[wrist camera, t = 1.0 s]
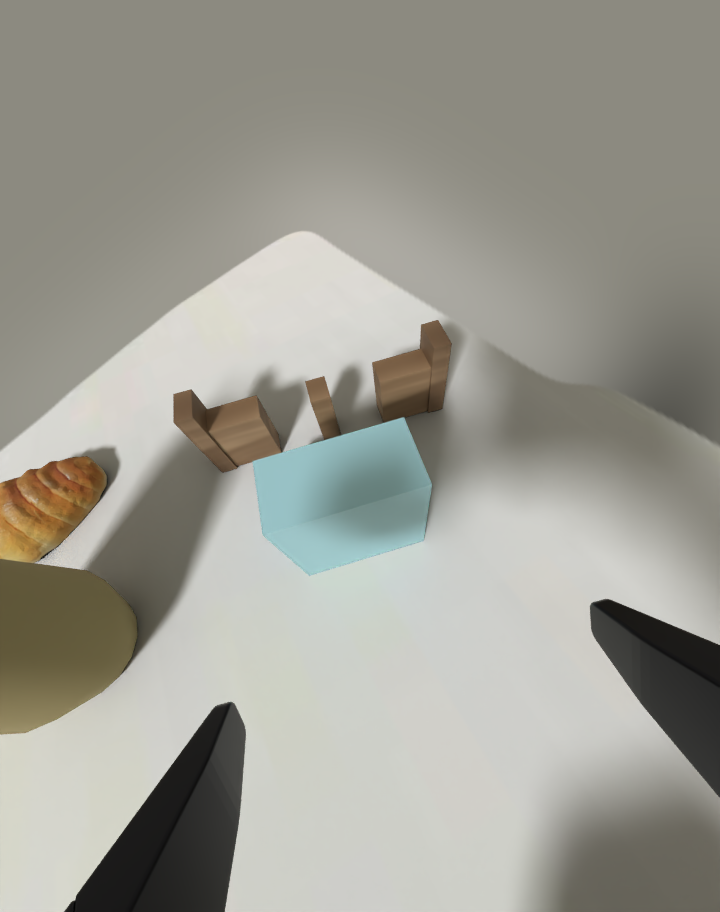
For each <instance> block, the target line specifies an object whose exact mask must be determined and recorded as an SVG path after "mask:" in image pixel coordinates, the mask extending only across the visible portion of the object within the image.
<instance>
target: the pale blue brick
mask: <svg viewBox="0 0 720 912" xmlns="http://www.w3.org/2000/svg"><path fill="white" fill-rule="evenodd" d="M253 467H254V475H255V482H256V489H257V497H258V504H259V512H260V519H261V526H262V534H263V536H264V537H265V538H266V539H268V540H269V541H270V542H271V543H272V544H273V545H275V546H276V547H277V548H278V549H279V550H280V551H281V552H283V553H284V554H285V555H286V556H287V557H288V558H289V559H291V560H292V561H293V562H294V563H295V564H296V565H298V566H299V567H300V568H301V569H302V570H303V571H304V572H306V573H307V574H308V575H313V574H316V573H319V572H323V571H326V570H329V569H332V568H336V567H339V566H342V565H346V564H349V563H352V562H355V561H359V560H362V559H365V558H368V557H372V556H375V555H378V554H382V553H385V552H388V551H391V550H395V549H398V548H401V547H405V546H408V545H411V544H414V543H418V542H421V541H424V535H425V528H426V522H427V515H428V508H429V502H430V495H431V489H432V483H431V481H430V478H429V476H428V474H427V471H426V469H425V466H424V464H423V462H422V459H421V457H420V454H419V452H418V450H417V447H416V445H415V442H414V440H413V438H412V435H411V433H410V431H409V428H408V426H407V423H406V421H405V419H404V417H403V418H399V419H396V420H392V421H389V422H385V423H382V424H379V425H375V426H372V427H368V428H365V429H361V430H358V431H354V432H351V433H348V434H344V435H341V436H337V437H334V438H330V439H327V440H323V441H320V442H317V443H313V444H310V445H306V446H303V447H299V448H296V449H293V450H289V451H286V452H282V453H279V454H275V455H272V456H268V457H265V458H262V459H258V460H255V461H253Z"/></svg>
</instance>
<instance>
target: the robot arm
mask: <svg viewBox="0 0 720 912" xmlns="http://www.w3.org/2000/svg"><path fill="white" fill-rule="evenodd" d="M590 617H591V630H592V633H593V635H594V637H595V639H596V641H597V642H598V643H599V645H600V646H601V648H602V649H603V651H604V652H605V653H606V655H607V656H608V658H609V659H610V661H611V662H612V663H613V665H614V666H615V668H616V669H617V670H618V672H619V673H620V675H621V676H622V678H623V679H624V680H625V682H626V683H627V685H628V686H629V688H630V689H631V690H632V692H633V693H634V694H635V696H636V697H637V699H638V700H639V701H640V703H641V704H642V705H643V706H644V708H645V709H646V710H647V711H648V713H649V714H650V715H651V716H652V717H653V719H654V720H655V721H656V722H657V723H658V725H659V726H660V727H661V728H662V729H663V731H664V732H665V733H666V734H667V735H668V737H669V738H670V739H671V740H672V741H673V742H674V744H675V745H676V746H677V747H678V748H679V750H680V751H681V752H682V753H683V754H684V756H685V757H686V758H687V759H688V760H689V762H690V763H691V764H692V765H693V766H694V768H695V769H696V770H697V771H698V772H699V774H700V775H701V776H702V777H703V778H704V779H705V781H706V782H707V783H708V784H709V785H710V787H711V788H712V789H713V790H714V791H715V793H716V794H717V795H718V796H719V797H720V645H718V644H716V643H713V642H711V641H709V640H706V639H704V638H701V637H699V636H697V635H694V634H692V633H689V632H687V631H685V630H682V629H680V628H677V627H675V626H672V625H670V624H668V623H665V622H663V621H660V620H658V619H656V618H653V617H651V616H648V615H646V614H644V613H641V612H639V611H636V610H634V609H632V608H629V607H627V606H624V605H622V604H620V603H617V602H615V601H612V600H609V599H603V600H600V601H596V602H593V603H591V605H590ZM245 740H246V731H245V725H244V723H243V721H242V719H241V716H240V714H239V712H238V710H237V708H236V706H235V704H234V703H233V702H227V703H224V704H220V705H217V706H215V707H214V708H213V709H212V711H211V712H210V713H209V715H208V716H207V718H206V719H205V720H204V722H203V723H202V724H201V726H200V727H199V728H198V730H197V731H196V733H195V734H194V735H193V737H192V738H191V739H190V741H189V742H188V744H187V745H186V746H185V748H184V749H183V750H182V752H181V753H180V754H179V756H178V757H177V759H176V760H175V761H174V763H173V764H172V765H171V767H170V768H169V769H168V771H167V772H166V774H165V775H164V776H163V778H162V779H161V780H160V782H159V783H158V784H157V786H156V787H155V789H154V790H153V791H152V793H151V794H150V795H149V797H148V798H147V800H146V801H145V802H144V804H143V805H142V806H141V808H140V809H139V810H138V812H137V813H136V815H135V816H134V817H133V819H132V820H131V821H130V823H129V824H128V825H127V827H126V828H125V830H124V831H123V832H122V834H121V835H120V836H119V838H118V839H117V841H116V842H115V843H114V845H113V846H112V847H111V849H110V850H109V851H108V853H107V854H106V856H105V857H104V858H103V860H102V861H101V862H100V864H99V865H98V866H97V868H96V869H95V871H94V872H93V873H92V875H91V876H90V877H89V879H88V880H87V881H86V883H85V884H84V886H83V887H82V888H81V890H80V891H79V892H78V894H77V896H76V899H75V900H74V901H72V902H71V903H70V904H69V906H68V907H67V909H66V910H65V911H64V912H225V906H226V900H227V894H228V888H229V881H230V875H231V869H232V862H233V856H234V850H235V844H236V837H237V831H238V824H239V817H240V807H241V794H242V781H243V767H244V753H245Z"/></svg>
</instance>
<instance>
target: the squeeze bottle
mask: <svg viewBox="0 0 720 912" xmlns="http://www.w3.org/2000/svg"><path fill="white" fill-rule="evenodd" d="M137 637H138V635H137V618H136V616H135V614H134V612H133V611H132V609H131V607H130V605H129V604H128V603H127V602H126V601H125V600H124V599H123V598H122V597H121V596H120V595H119V594H118V593H117V592H116V591H115V590H114V589H113V588H112V587H111V586H110V585H109V584H108V583H107V582H106V581H105V580H103V579H101V578H99V577H98V576H96V575H94V574H92V573H91V572H89V571H86V570H79V569H72V568H64V567H57V566H50V565H42V564H35V563H28V562H20V561H13V560H6V559H0V734H15V733H26V732H29V731H31V730H33V729H36V728H38V727H40V726H43V725H45V724H47V723H50V722H52V721H54V720H57V719H58V718H60V717H62V716H63V715H65V714H67V713H68V712H70V711H72V710H73V709H75V708H76V707H78V706H80V705H81V704H83V703H85V702H86V701H88V700H90V699H91V698H93V697H95V696H96V695H98V694H100V693H101V692H103V691H104V690H105V689H106V688H107V687H108V686H109V685H110V684H112V683H113V682H114V681H115V680H116V679H117V678H118V677H119V676H120V675H121V673H122V671H123V670H124V668H125V667H126V665H127V663H128V662H129V660H130V659H131V657H132V654H133V650H134V647H135V644H136V640H137Z"/></svg>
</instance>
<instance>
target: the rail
mask: <svg viewBox="0 0 720 912" xmlns="http://www.w3.org/2000/svg"><path fill="white" fill-rule="evenodd" d="M451 345H452V343H451V342H450V340H449V338H448V336H447V335H446V333H445V331H444V330H443V328H442V326H441V324H440V323H439V321H438V320H436V321H432V322H429V323H425V324H422V325H421V339H420V349H418V350H415V351H411V352H408V353H404V354H401V355H397V356H394V357H390V358H386V359H383V360H379V361H376V362H372V365H373V374H374V383H375V392H376V401H377V406H378V409H379V412H380V414H381V417H382V420H383V422H384V423H385V422H389V421H392V420H396V419H399V418H403V417H404V418H405V417H408V416H412V415H415V414H419V413H422V412H425V411H428V413H429V412H433V411H436V410H440V409H442V407H443V400H444V393H445V386H446V379H447V372H448V365H449V358H450V352H451ZM305 382H306V386H307V390H308V394H309V398H310V402H311V405H312V407H313V410H314V413H315V415H316V418H317V421H318V424H319V426H320V429H321V432H322V434H323V437H324V440H327V439H330V438H334V437H337V436H341V432H340V429H339V426H338V422H337V419H336V415H335V412H334V408H333V405H332V401H331V398H330V394H329V391H328V388H327V384H326V381H325V377H324V376H323V377H320V378H316V379H312V380H309V381H305ZM174 423H175V424H176V425H177V427H178V428H179V429H180V430H181V431H182V432H183V433H184V434H185V435H186V436H187V437H188V438H189V439H190V440H191V441H192V442H193V443H194V444H195V445H196V446H197V447H198V448H199V449H200V450H201V451H202V452H203V453H204V454H205V455H206V456H207V457H208V458H209V459H210V460H211V461H212V462H213V463H214V464H215V465H216V466H217V467H218V468H219V469H220V470H221V471H222V472H227V471H230V470H233V469H237V466H240V465H243V464H247V463H250V462H253V461H255V460H258V459H262V458H265V457H268V456H272V455H275V454H279V453H282V452H281V447H280V441H279V436H278V433H277V431H276V429H275V427H274V425H273V424H272V422H271V420H270V418H269V417H268V415H267V413H266V411H265V409H264V408H263V406H262V404H261V402H260V401H259V399H258V397H257V395H256V396H253V397H249V398H246V399H242V400H238V401H235V402H231V403H228V404H224V405H221V406H217V407H214V408H210V409H206V407H205V406H204V405H203V404H202V402H201V401H200V400H199V398H198V397H197V396H196V395H195V393H194V392H193V391H192V390H187V391H183V392H180V393H176V394H174Z"/></svg>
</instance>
